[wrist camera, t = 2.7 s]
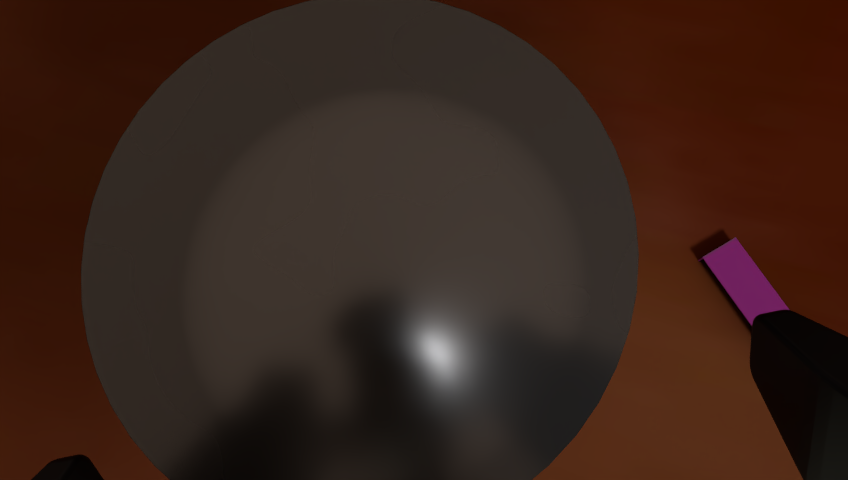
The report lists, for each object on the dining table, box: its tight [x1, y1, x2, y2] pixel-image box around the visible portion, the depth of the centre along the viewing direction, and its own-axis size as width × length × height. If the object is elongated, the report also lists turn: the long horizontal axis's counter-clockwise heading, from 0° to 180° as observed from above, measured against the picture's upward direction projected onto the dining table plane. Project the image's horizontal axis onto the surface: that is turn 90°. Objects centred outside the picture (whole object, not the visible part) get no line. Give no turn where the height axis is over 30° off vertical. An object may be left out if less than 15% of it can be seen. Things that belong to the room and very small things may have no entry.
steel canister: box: [81, 0, 639, 480], centre depth 12 cm, size 5×5×12 cm
